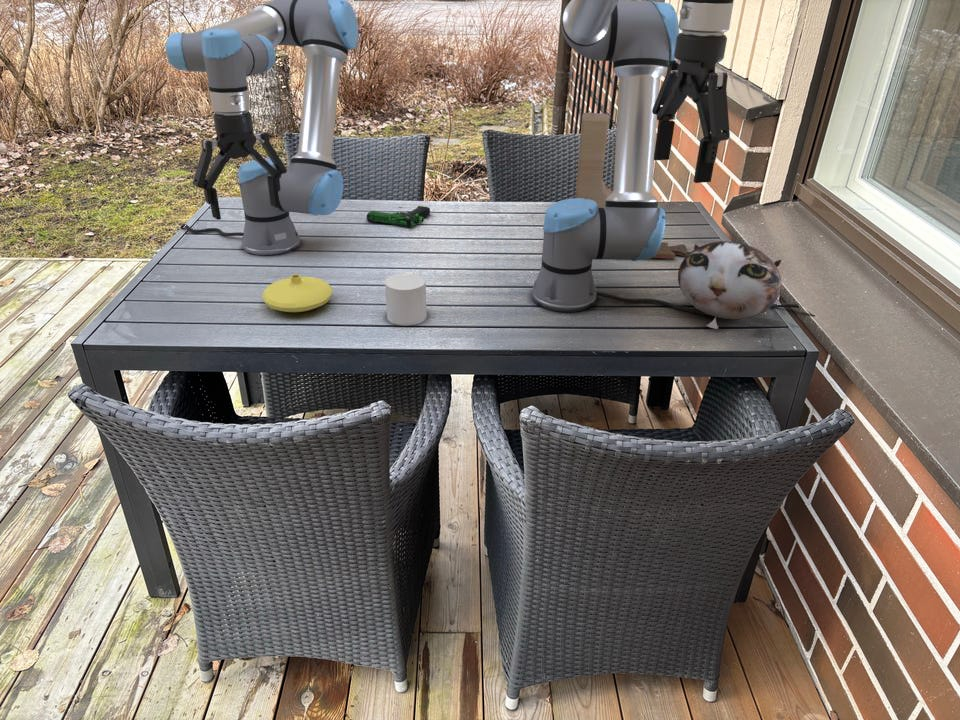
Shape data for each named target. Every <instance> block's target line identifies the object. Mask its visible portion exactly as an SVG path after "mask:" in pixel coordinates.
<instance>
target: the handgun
mask: <svg viewBox="0 0 960 720" xmlns="http://www.w3.org/2000/svg"><path fill="white" fill-rule="evenodd" d="M430 214H431V209H430V207H428V206H424V205H423V206H422V205H417V206H416V208H414V209H412V210H411V211H407V212H403V211H400V212H399V211H397V212H392V213H391V212H382V211H377V210H371V211H369V212H368V213H367V214H366V221H367V222H372V223H380V224H390V225H396V226H401V227H403V228H404V227H405V228H411V229H412V228H413V227H415V226H418V224H421V223H423V222H424V220H425V218H427V217H429V216H430Z"/></svg>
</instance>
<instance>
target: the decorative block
mask: <svg viewBox="0 0 960 720" xmlns="http://www.w3.org/2000/svg"><path fill="white" fill-rule="evenodd" d="M608 130H609V114H607V113H603V112H602V113H598V112H583V113H582V115H581V126H580V137H579V138H580V139H579V149H578V151H579V152H578V161H577V162H578V163H577V172H576V173H577V174H576V186H575V197H574V198H584V199H590V200H593V201H595V202H596V203H597V205H598V208H605V205H606V198H608V197H609V196H610V195H611V194H612V192H613V189H610V188H609V187H608V186H606V183H605V181H604V169H605V160H606V159H605V158H606V151H607V150H606V149H607V139H608Z"/></svg>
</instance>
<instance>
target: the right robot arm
mask: <svg viewBox="0 0 960 720" xmlns="http://www.w3.org/2000/svg"><path fill="white" fill-rule="evenodd" d="M734 1H735V0H682V2H681V9H680V10H679V15H680V16H679V18H678V14H677V12H676V9H675V7H674V6H673V5H672V4H671V3H669V2H664V1H663V2H662V1H661V2H660V1H654V0H649V1H648V0H633V1H632V0H627V1H626V0H624V1H623V0H569V2H568V3H567V5H566V7H565V9H564V11H563V13H562V17H561V31H562V32H561V33H562V35H563V37H564V39H565V41H566V43H567V44H568V46H569V47H570V48H571V49H572V50H573V51H574V52H576V53H577V54H579V55H580V56H582V57H584V58H586V59H589V60H593V61H597V62H612V72H613V73H614V74H615V76H616V77H617V78H618V97H617V98H618V99H617V116H616V130H615V131H616V133H615V147H614V148H615V150H614V168H613V169H614V170H613V185H612V190H613V192H612V194H611V195H610V196H609V197H608V198H606V205H605V208H598V205H597V203H596V202H595V201H593V200H590V199H584V198H575V197H573V198H567V199H561V200H559V201H555V202H554V203H552V204H550V205H549V206H548V207H547V209H546V211H545V213H544V219H543V220H544V221H543V225H542V230H543V239H542V254H541V267H540V269H539V271H538V273H537V276H536V277H535V279H534V282H533V286H532V289H531V299H532V301H533V302H534V303H535V304H536V305H538V306H539V307H541V308H543V309H546V310H550V311H555V312H562V313H573V312H574V313H575V312H582V311H586V310H588V309H590V308H592V307H593V306H594V305H595V304H596V302H597V296H598V297H601V298H606V299H610V300H615V301H617V302H621V303H622V302H623V303H649V304H656V305H662V306H666V307H668V308H669V307H670V308H671V309H675V310H678V311H682V312H689V313H694V314H702V315H707V314H706V313H704V312H702V311H700V310H699V309H697V308H695V307H694V308H693V307H687V306H683V305H679V304H675V303H673V302H670V301H669V302H668V301H665V300H661V299H656V298H629V297H628V298H627V297H621V296H618V295H614V294H610V293H605V292H600V291H597V287H596V284H595V280H594V276H593V271H592V266H593V260H610V261H612V260H614V261H616V260H617V261H618V260H619V261H633V262H635V261H643V260H651V259H654V258H653V257H654V256H655V255H656V253H657V252H658V250H659V248H660V245H661V243H662V242H663V239H664V234H665V229H666V212H665V210H664V208H661V207H658V206H659V199H658V198H657V197H656V196H655V195H654V193H653V184H654V183H653V181H654V167H655V166H654V165H655V161H668V160H669V161H670V157H671V150H672V144H673V137H674V130H675V124H676V114H677V112H678V111H679V110H680V108H681V106H682V105H683V103H684V102H685V101H686V99H687V97H689V98H691V100H692V103H694V104H695V105H696V108H697V113H698V114H697V115H698V118H699V122H700V126H701V131H702V136H703V137H702V138H701V139H700V141H699V146H698V152H697V159H696V164H695V170H694V177H693V183H695V184H701V183H711V182H712V177H713V172H714V167H715V162H716V160H717V155H718V154H717V153H718V149H719V144H720V143H721V142H722V141H728V140H730V138H731V133H730V131H731V130H730V121H729V119H730V118H729V105H728V93H727V85H728V79H729V78H728V77H729V75H728V72H726V71H725V72H723V71H722V72H716V65H717V64H718V63H720V62H722V61H723V60H724V58H725V53H726V48H727V42H728V37H727V35H726V34H725V33H726V32H727V33H728V31H729V30H730V26H731V21H732V20H731V19H732V14H733V8H734ZM680 31H681V32H680ZM663 75H665V76H664V79H663V82H662V84H661V87H660V81H661V78H662V77H663ZM674 120H675V121H674ZM779 303H780V304H781V305H777V304H773V305H772V306H771V307H770V308H795V309H800V308H799V306H798V304H799V303H792V302H791V303H790V302H789V303H787V302H785V303H783V302H779Z"/></svg>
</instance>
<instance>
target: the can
mask: <svg viewBox="0 0 960 720" xmlns="http://www.w3.org/2000/svg"><path fill="white" fill-rule="evenodd" d="M384 289H385V304H386V307H385V308H386V319H387V320H388V322H389V323H391V324H393V325H396V326H402V327H403V326H404V327H406V326H409V327H410V326H415V325H419V324H421V323H423V322H424V321H426V319H427V316H428V314H427V311H428V309H427V280H426V278H425V277H424V276H423V275H421V274H418V273H412V272H402V273H401V272H400V273H395V274H392V275H390V276H388V277H387V278H386V279H385V281H384Z"/></svg>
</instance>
